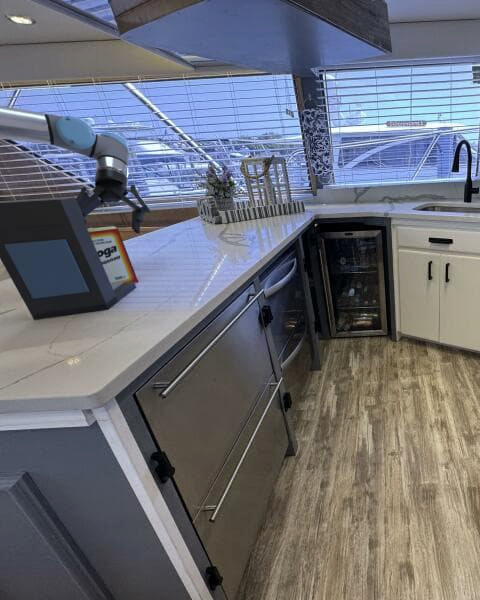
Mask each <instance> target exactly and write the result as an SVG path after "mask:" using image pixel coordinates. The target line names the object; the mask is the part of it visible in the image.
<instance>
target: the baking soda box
mask: <svg viewBox="0 0 480 600" xmlns="http://www.w3.org/2000/svg"><path fill="white" fill-rule="evenodd" d="M87 229H88V232H89V234H90V236H91V239H92V241H93V244H94V246H95V248H96V251H97V253H98V255H99V258H100V260H101V262H102V265H103V267H104V269H105V272H106V274H107V276H108V279H109V281H110V283H117V282H123V283H129V282H134V283H135V284H136V283H139V279H138V277H137V274H136V272H135V270H134V269H135V268H134V266H133V264H132V261H131V259H130V256H129V253H128V250H127V249H126V246H125V243H124V241H123V238H122V235H121V233H120V231H119V228H118V227H117V226H115V225H112V226H103V227H101V226H100V227H94V228H93V227H89V228H88V227H87Z"/></svg>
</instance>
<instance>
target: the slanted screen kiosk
mask: <svg viewBox="0 0 480 600" xmlns="http://www.w3.org/2000/svg"><path fill="white" fill-rule="evenodd" d="M84 218H85V217H83V215H82V212H81V210H80V207H79V205H78V203H77V200H76V197H75V196H72V197H71V196H70V197H55V198H53V197H52V198H38V199H20V200H2V201H1V200H0V261H1V263H2V264H3V266H4V268H5V270H6V272H7V273H8V276H9V277H10V279H11V281H12V283H13V284H14V286H15V289H16V290H17V291H18V294H19V295H20V297H21V299H22V301H23V302H24V304H25V307H26V308H27V310H28V312H29V314H30V316H31V318H32V319H33V321H36V320H43V319H50V318H56V317H57V318H58V317H64V316H65V317H66V316H72V315H79V314H85V313H86V314H87V313H93V312H100V311H108V310H110V309H111V308H112V307H114V306H115V305H116V304H118V303H119V302H120V301H121V300H123V298H125V297H126V296H127V295H128V294H130V293H131V292H132V291H133V290H135V289H136V288H137V285H136V283H134V282H129V283H123V282H117V283H110V281H109V279H108V276H107V274H106V272H105V269H104V267H103V265H102V262H101V260H100V258H99V255H98V253H97V251H96V248H95V246H94V244H93V241H92V239H91V236H90V234H89V232H88V229H87V228H88V227H87V224H86V225H85V222H84V220H85V219H86V218H85V219H84Z"/></svg>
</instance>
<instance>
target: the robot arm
mask: <svg viewBox="0 0 480 600" xmlns="http://www.w3.org/2000/svg"><path fill="white" fill-rule="evenodd" d="M0 140H8V141H9V140H10V141H17V142H26V143H33V144H42V145H47V146H48V145H49V146H54V147H56V148H60V149H64V150H67V151H70V152H74V153H75V154H79V155H81V156H84V157H88V158H90V159H92V160H93V159H94V160H96V163H95V164H96V165H95V175H94V188H93V189H91V188H90V189H87V187H85V186H84V187H81V189H80V192H79V194H78V195H77V196H76V197H75V198H76V200H77V203H78V205H79V207H80V210H81V212H82V215H83V217H84V219H85V220H84V222H85V225H86V226H87V219H86V217H87V216H88V215H89V214H91V213H92V212H94V210H95V209H97V208H98V207H100V206H104V204H105V203H106V204H110V203H119V202H123V204H125V205H127V206H128V207H130V208H131V209H132V210H131V211H132V213H131V229H132V231H133V232H134V233H136V235H137V234H140V233H141V224H142V223H143V222H144V215H145V214H147V213H148V214H151V212H152V210H151V208H150V207H149V206H148V205H147V203H146V202H145V201H144V199H143V198H142V196H141V193H140V190H139V188H137V186H136V185H135V184H131V185H130V187H129V186H128V183H129V180H128V179H129V162H130V161H129V160H130V147H129V143H128V141H127V140H126V139H125V138H124V137H123V136H121V135H119V134H117V133H114V132H108V131H105V132H102V133H100V134H97V133H96V132H95V130H94V128H93V127H92V125H91V124H89V123H88V122H87V121H86V120H84V119H82V118H81V117H77V116H72V115H64V116H61V115H56V114H51V113H50V114H49V113H44V112H39V111H33V110H28V109H23V108H17V107H10V106H5V105H0ZM128 194H130V195H133V196H134V197H135V200H137V201H138V203H139V204H140V205H141V206H139V205H137V204H136V203H135V202H134V201H132V200H131V199H129V198H128V197H127V196H128Z"/></svg>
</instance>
